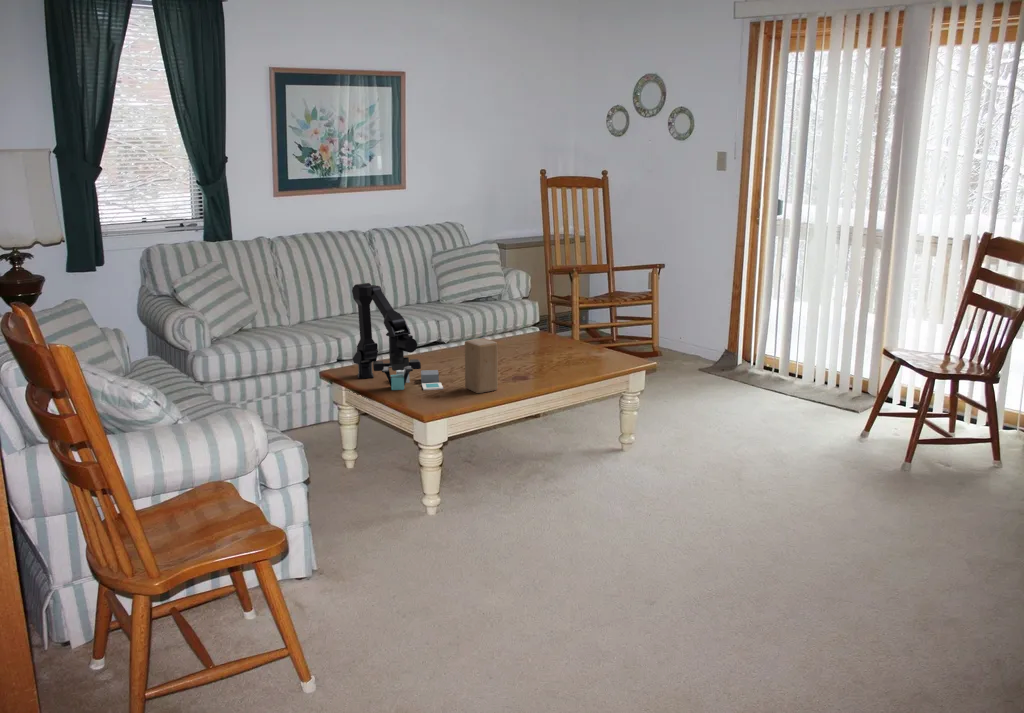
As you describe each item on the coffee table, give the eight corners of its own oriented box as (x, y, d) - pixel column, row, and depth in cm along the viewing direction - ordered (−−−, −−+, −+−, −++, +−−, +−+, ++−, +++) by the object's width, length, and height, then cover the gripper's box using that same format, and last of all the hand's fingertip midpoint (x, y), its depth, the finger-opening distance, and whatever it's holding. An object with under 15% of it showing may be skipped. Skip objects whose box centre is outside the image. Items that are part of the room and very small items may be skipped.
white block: (396, 380, 376) (396, 368, 375) (408, 379, 377) (408, 367, 376) (397, 383, 371) (397, 371, 370) (409, 382, 372) (409, 371, 371)
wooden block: (478, 394, 356) (477, 345, 351) (464, 388, 364) (463, 340, 359) (498, 390, 362) (498, 341, 357) (484, 384, 369) (484, 337, 364)
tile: (421, 384, 369) (421, 383, 368) (441, 383, 370) (441, 382, 370) (423, 390, 361) (423, 388, 361) (443, 389, 363) (443, 387, 362)
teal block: (390, 386, 366) (390, 374, 365) (403, 386, 367) (402, 374, 366) (391, 390, 361) (391, 378, 360) (404, 389, 362) (403, 377, 361)
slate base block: (421, 379, 377) (420, 370, 376) (437, 379, 378) (437, 369, 377) (421, 384, 370) (421, 374, 369) (438, 383, 371) (438, 374, 370)
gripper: (373, 354, 350) (375, 392, 354) (421, 351, 354) (422, 390, 358) (372, 347, 361) (373, 384, 365) (419, 345, 365) (419, 382, 368)
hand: (397, 385), depth 364 cm, fingers closed on teal block, 5 cm apart
